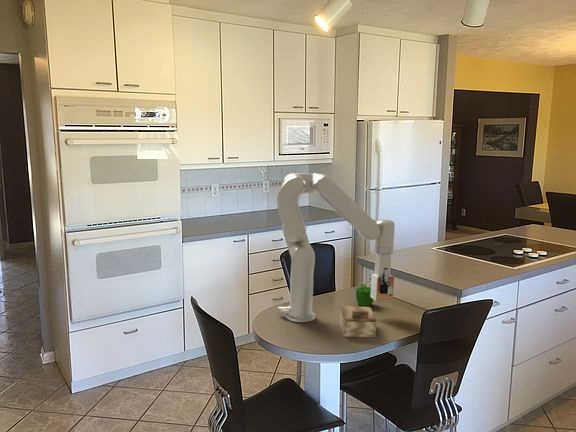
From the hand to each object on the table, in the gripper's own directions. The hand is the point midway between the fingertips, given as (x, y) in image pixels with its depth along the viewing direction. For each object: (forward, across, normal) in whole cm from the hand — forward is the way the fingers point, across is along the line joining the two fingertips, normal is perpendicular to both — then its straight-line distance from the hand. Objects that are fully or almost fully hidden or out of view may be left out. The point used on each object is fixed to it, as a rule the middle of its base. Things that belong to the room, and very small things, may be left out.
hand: (381, 290), depth 204 cm
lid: (+5, +15, -12) cm, 20 cm away
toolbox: (+12, +15, -12) cm, 23 cm away
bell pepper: (+12, -15, -4) cm, 20 cm away
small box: (+4, 0, 0) cm, 4 cm away
